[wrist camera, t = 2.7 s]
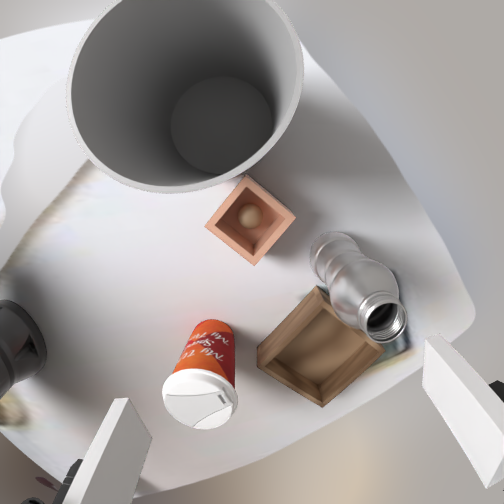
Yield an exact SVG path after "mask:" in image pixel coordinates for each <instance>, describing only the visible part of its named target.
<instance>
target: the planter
mask: <svg viewBox="0 0 504 504" xmlns="http://www.w3.org/2000/svg"><path fill="white" fill-rule="evenodd" d="M246 204H255V205H257V206H259V207H260V209H261V210H262V212H263V220H262V223H261V224H260V225H259V226H258V227H256V228H254V229H247V228H245V227H243V226H242V225H241V224H240V223H239V221H238V212H239V210H240V208H241V207H243V206H244V205H246ZM295 219H296V217H295V216H294V214H293V213H292V212H291V210H290V209H288V208H287V207H286V206H285V205H284V204H282V203H281V202H280V201H279V200H278V199H276V198H275V197H274V196H273V195H272V194H270V193H269V192H268V191H267V190H266V189H264V188H263V187H262V186H261V185H259V184H258V183H257V182H256V181H255V180H253V179H252V178H251V177H250V176H248V175H247V174H246V176H245V177H244V178H243V179H242V180H241V182H240V183H239V184H238V185H237V186H236V188H235V189H234V190H233V191H232V193H231V194H230V195H229V196H228V197H227V199H226V200H225V201H224V202H223V204H222V205H221V206H220V207H219V209H218V210H217V211H216V212H215V214H214V215H213V216H212V217H211V219H210V220H209V221H208V222H207V224H206V225H205V226H204V227H205V228H207V229H208V230H209V231H210V232H212V233H213V234H214V235H216V236H217V237H218V238H219V239H221V240H222V241H223V242H224V243H226V244H227V245H228V246H229V247H231V248H232V249H233V250H234V251H236V252H237V253H238V254H240V255H241V256H242V257H243V258H245V259H246V260H247V261H248V262H250V263H251V264H252V265H253V266H255V265H256V264H257V263H258V262H259V260H260V259H261V258H262V257H263V256H264V255H265V253H266V252H267V251H268V250H269V249H270V248H271V246H272V245H273V244H274V243H275V242H276V241H277V240H278V238H279V237H280V236H281V235H282V234H283V233H284V231H285V230H286V229H287V228H288V227H289V226H290V224H291V223H292V222H293V221H294V220H295Z"/></svg>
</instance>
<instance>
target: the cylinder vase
mask: <svg viewBox="0 0 504 504" xmlns="http://www.w3.org/2000/svg"><path fill="white" fill-rule="evenodd" d="M303 78H304V62H303V54H302V49H301V45H300V41H299V38H298V36H297V33H296V31H295V29H294V27H293V25H292V23H291V21H290V20H289V18H288V17H287V15H286V14H285V13H284V11H283V10H282V9H281V8H280V7H279V5H278V4H276V2H275V1H273V0H116V1H114V2H113V3H112V4H111V5H109V6H108V7H107V8H106V9H105V10H104V11H103V12H102V13H101V14H100V15H99V16H98V17H97V18H96V20H95V21H94V22H93V23H92V24H91V26H90V27H89V28H88V30H87V31H86V33H85V34H84V36H83V38H82V39H81V41H80V43H79V45H78V47H77V49H76V51H75V54H74V56H73V59H72V62H71V65H70V69H69V73H68V79H67V86H66V105H67V113H68V117H69V122H70V125H71V128H72V131H73V134H74V136H75V138H76V140H77V142H78V144H79V146H80V147H81V149H82V150H83V152H84V153H85V154H86V156H87V157H88V158H89V159H90V160H91V162H92V163H93V164H94V165H95V166H96V167H98V168H99V169H100V170H101V171H102V172H104V173H105V174H106V175H108V176H109V177H111V178H113V179H114V180H116V181H118V182H120V183H122V184H124V185H127V186H129V187H132V188H135V189H139V190H143V191H147V192H153V193H165V194H174V193H186V192H193V191H198V190H202V189H206V188H209V187H212V186H215V185H218V184H220V183H223V182H225V181H227V180H229V179H231V178H233V177H235V176H237V175H239V174H240V173H242V172H244V171H246V170H247V169H249V168H251V167H252V166H254V165H255V164H256V163H257V162H258V161H259V160H260V159H261V158H262V157H263V156H264V155H265V154H266V153H267V152H268V151H269V150H270V149H271V148H272V147H273V146H274V145H275V143H276V142H277V141H278V140H279V138H280V137H281V136H282V134H283V133H284V131H285V130H286V128H287V127H288V125H289V123H290V121H291V119H292V117H293V115H294V113H295V111H296V108H297V106H298V103H299V99H300V96H301V91H302V86H303Z"/></svg>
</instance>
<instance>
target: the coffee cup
mask: <svg viewBox="0 0 504 504" xmlns="http://www.w3.org/2000/svg"><path fill="white" fill-rule="evenodd" d="M162 393H163V399H164V403H165V407H166V409H167V411H168V412H169V413H170V414H171V415H172V416H173V417H174V418H175V419H176V420H177V421H179V422H180V423H182V424H184V425H186V426H189V427H192V428H195V429H212V428H216V427H219V426H221V425H223V424H224V423H225V422H227V421H228V420H229V418H230V417H231V416H232V414H233V413H234V412H235V410H236V408H237V405H238V397H237V393H236V391H235V344H234V335H233V332H232V330H231V329H230V327H229V326H228V325H227V324H225V323H224V322H221V321H219V320H212V319H211V320H205V321H203V322H201V323H199V324H198V325H197V326H196V327H195V329H194V331H193V332H192V334H191V336H190V338H189V340H188V342H187V344H186V346H185V348H184V350H183V353H182V355H181V357H180V359H179V361H178V363H177V365H176V367H175V369H174V371H173V373H172V375H171V376H170V377H169V378H168V379H167V380H166V381H165V383H164V386H163V390H162Z"/></svg>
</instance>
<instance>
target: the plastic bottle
mask: <svg viewBox="0 0 504 504" xmlns="http://www.w3.org/2000/svg"><path fill="white" fill-rule="evenodd" d="M310 265H311V268H312V270H313V272H314V274H315V275H316V276H317V277H318V278H319V279H320V280H321V281H322V282H324V283H325V284H326V285H327V287H328V290H329V294H330V300H331V304H332V307H333V310H334V312H335V314H336V315H337V317H338V318H339V319H340V320H341V321H342V322H343V323H345V324H347V325H349V326H350V327H352V328H355V329H360V330H363V331H364V332H365V333H366V335H367V337H369V338H370V339H371V340H372V341H374V342H376V343H388V342H391V341H393V340H395V339H396V338H398V337H399V336H400V335H401V334H402V332H403V331H404V329H405V327H406V324H407V312H406V310H405V308H404V306H403V305H402V304H401V303H400V301H399V290H398V286H397V282H396V279H395V277H394V275H393V273H392V272H391V271H390V270H389V269H388V268H387V267H386V266H384V265H383V264H381V263H380V262H377V261H375V260H372V259H370V258H367V257H366V256H365V255H363V254H362V252H361V250H360V248H359V247H358V245H357V243H356V242H355V241H354V240H353V239H352V238H351V237H350V236H348V235H346V234H344V233H339V232H329V233H325V234H323V235H321V236H320V237H318V238H317V239H316V240H315V242H314V243H313V245H312V247H311V251H310Z"/></svg>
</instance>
